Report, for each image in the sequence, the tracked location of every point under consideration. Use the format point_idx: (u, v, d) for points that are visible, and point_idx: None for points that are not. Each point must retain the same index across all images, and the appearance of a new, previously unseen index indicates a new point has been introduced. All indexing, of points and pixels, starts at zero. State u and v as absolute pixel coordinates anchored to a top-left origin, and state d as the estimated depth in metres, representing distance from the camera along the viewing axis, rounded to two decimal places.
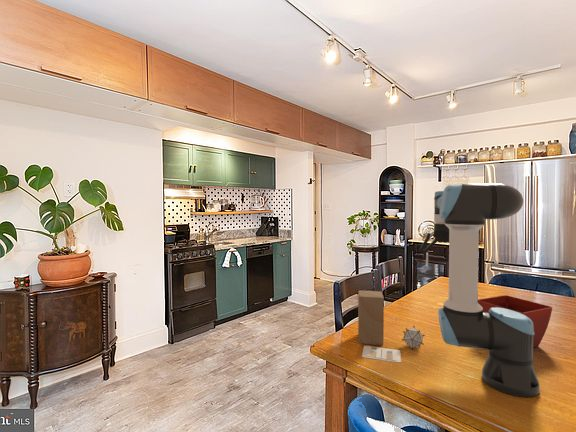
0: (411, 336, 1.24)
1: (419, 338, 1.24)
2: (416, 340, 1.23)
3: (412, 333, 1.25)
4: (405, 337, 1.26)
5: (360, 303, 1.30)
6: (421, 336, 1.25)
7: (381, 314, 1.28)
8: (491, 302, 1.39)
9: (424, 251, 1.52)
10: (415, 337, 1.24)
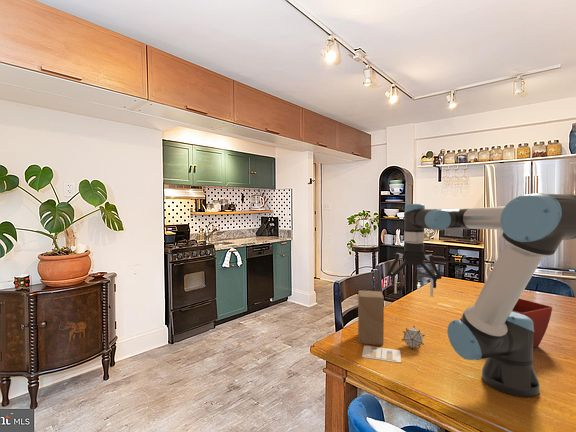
0: (411, 336, 1.24)
1: (419, 338, 1.24)
2: (416, 340, 1.23)
3: (412, 333, 1.25)
4: (405, 337, 1.26)
5: (360, 303, 1.30)
6: (421, 336, 1.25)
7: (381, 314, 1.28)
8: None
9: (392, 275, 1.28)
10: (415, 337, 1.24)
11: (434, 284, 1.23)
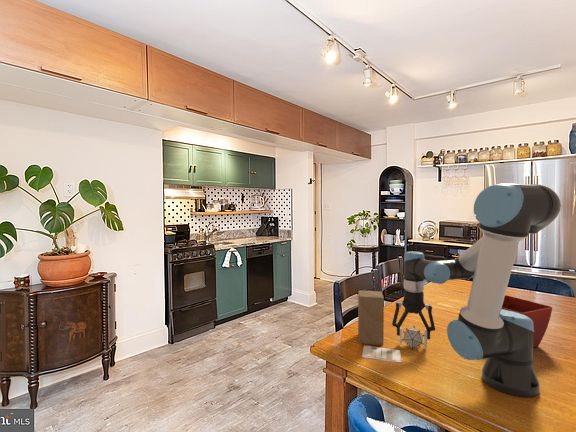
0: (411, 336, 1.24)
1: (419, 338, 1.24)
2: (416, 339, 1.23)
3: (412, 333, 1.25)
4: (405, 337, 1.26)
5: (360, 303, 1.30)
6: (421, 336, 1.25)
7: (381, 314, 1.28)
8: None
9: (397, 326, 1.27)
10: (415, 337, 1.24)
11: (428, 335, 1.24)
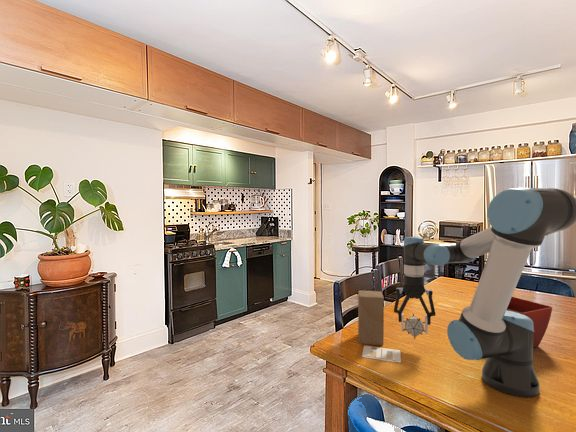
0: (412, 325, 1.23)
1: (420, 326, 1.23)
2: (418, 328, 1.22)
3: (413, 322, 1.24)
4: (406, 327, 1.25)
5: (360, 303, 1.30)
6: (422, 323, 1.24)
7: (381, 314, 1.28)
8: None
9: (399, 312, 1.27)
10: (416, 325, 1.22)
11: (428, 321, 1.24)
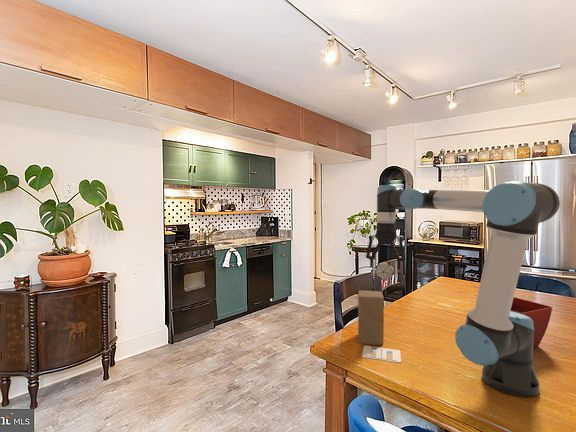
0: (382, 269, 1.28)
1: (390, 270, 1.28)
2: (387, 271, 1.28)
3: (383, 266, 1.29)
4: (377, 271, 1.30)
5: (360, 303, 1.30)
6: (392, 268, 1.29)
7: (381, 314, 1.28)
8: None
9: (370, 258, 1.32)
10: (386, 269, 1.28)
11: (398, 266, 1.29)
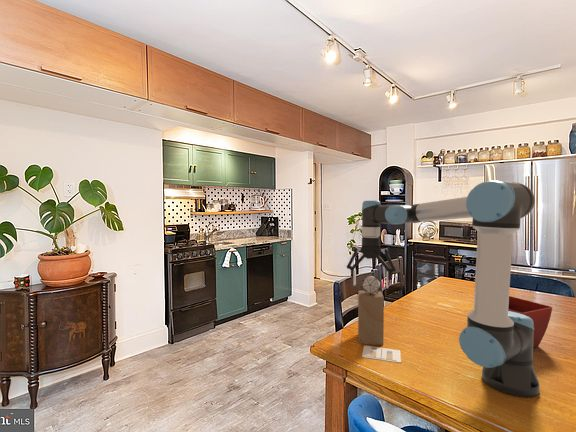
0: (369, 282, 1.31)
1: (376, 284, 1.30)
2: (374, 285, 1.30)
3: (370, 279, 1.31)
4: (364, 284, 1.32)
5: (360, 303, 1.30)
6: (378, 282, 1.32)
7: (381, 314, 1.28)
8: None
9: (351, 268, 1.35)
10: (373, 283, 1.30)
11: (389, 276, 1.30)
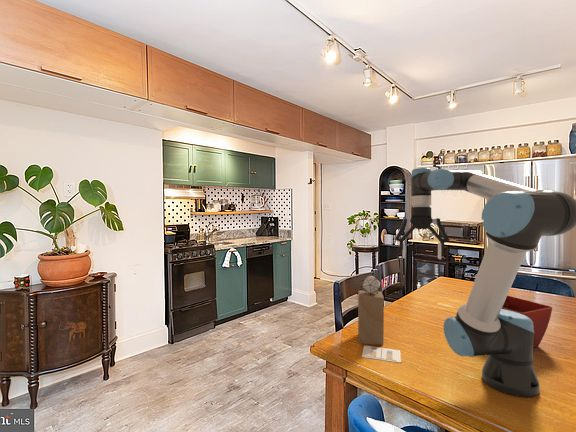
0: (369, 282, 1.31)
1: (376, 284, 1.30)
2: (374, 285, 1.30)
3: (370, 279, 1.31)
4: (364, 284, 1.32)
5: (360, 303, 1.30)
6: (378, 282, 1.32)
7: (381, 314, 1.28)
8: None
9: (400, 240, 1.28)
10: (373, 283, 1.30)
11: (442, 247, 1.25)
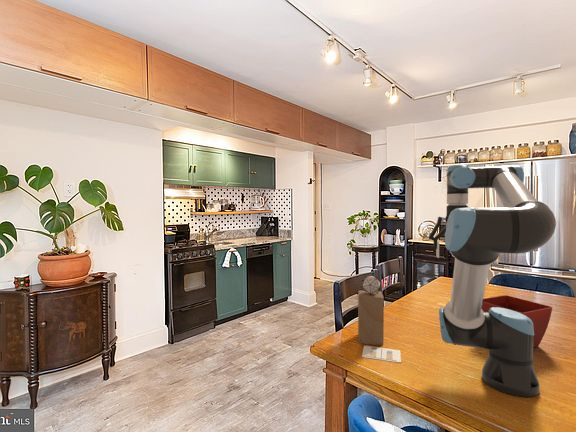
0: (369, 282, 1.31)
1: (376, 284, 1.30)
2: (374, 285, 1.30)
3: (370, 279, 1.31)
4: (364, 284, 1.32)
5: (360, 303, 1.30)
6: (378, 282, 1.32)
7: (381, 314, 1.28)
8: (491, 302, 1.39)
9: (434, 239, 1.26)
10: (373, 283, 1.30)
11: None
